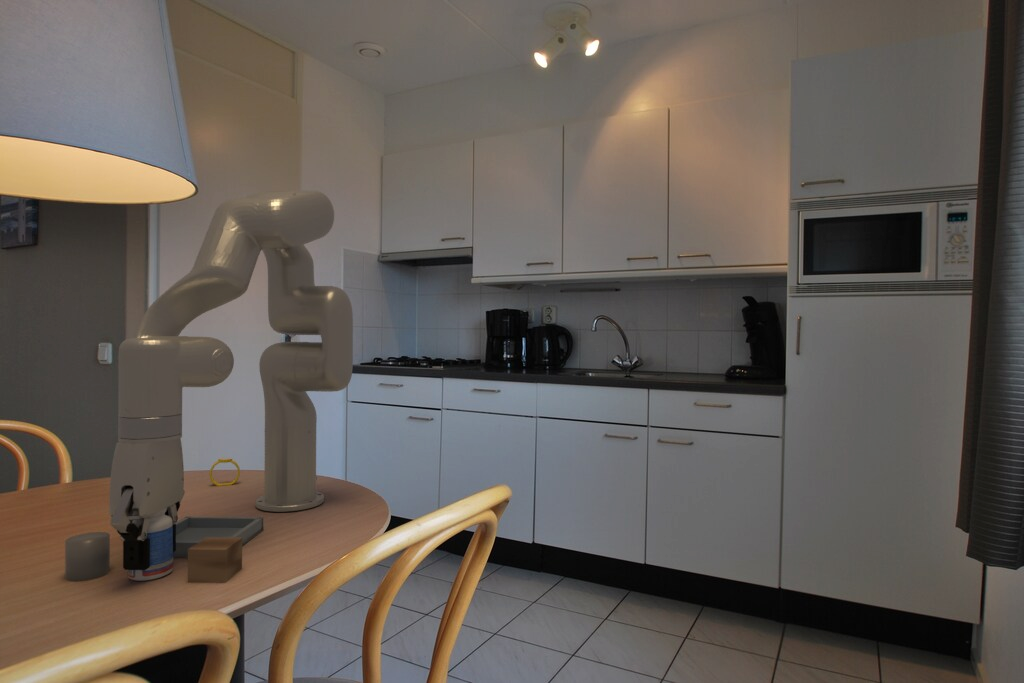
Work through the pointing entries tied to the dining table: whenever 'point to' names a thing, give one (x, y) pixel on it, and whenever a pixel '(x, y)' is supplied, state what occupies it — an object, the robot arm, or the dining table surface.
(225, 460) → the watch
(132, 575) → the pill bottle
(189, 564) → the walnut block
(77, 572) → the smooth grey pebble
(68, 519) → the dining table surface
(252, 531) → the slate tray
